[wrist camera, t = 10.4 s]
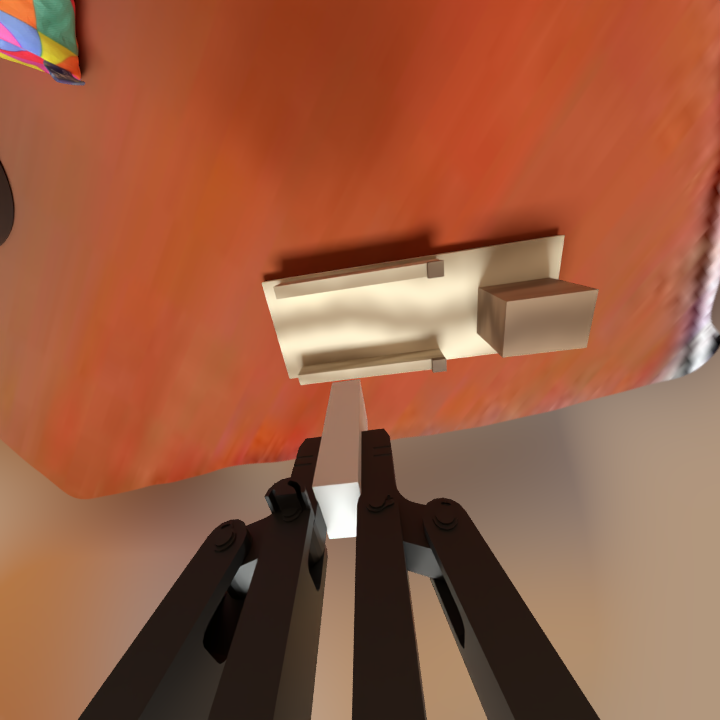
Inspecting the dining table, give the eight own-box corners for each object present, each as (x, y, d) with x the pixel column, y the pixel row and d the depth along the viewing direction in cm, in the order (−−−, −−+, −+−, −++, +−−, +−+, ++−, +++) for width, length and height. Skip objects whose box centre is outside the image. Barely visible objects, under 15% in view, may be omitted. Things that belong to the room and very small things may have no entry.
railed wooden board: (264, 281, 30) (249, 288, 26) (558, 235, 27) (588, 235, 23) (291, 374, 34) (282, 392, 31) (543, 343, 32) (566, 358, 28)
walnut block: (478, 287, 28) (506, 301, 22) (549, 277, 28) (598, 289, 22) (476, 333, 30) (502, 357, 24) (543, 324, 30) (586, 347, 24)
